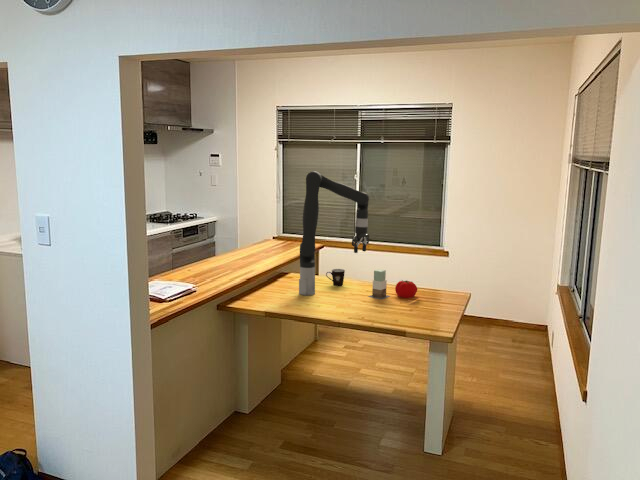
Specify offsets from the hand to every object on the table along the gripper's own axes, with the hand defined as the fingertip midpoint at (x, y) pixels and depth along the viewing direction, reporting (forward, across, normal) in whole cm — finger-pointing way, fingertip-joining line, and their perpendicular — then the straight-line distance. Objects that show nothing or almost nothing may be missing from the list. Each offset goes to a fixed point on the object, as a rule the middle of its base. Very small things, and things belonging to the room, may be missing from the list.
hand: (359, 252), depth 323 cm
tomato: (+26, +14, -26) cm, 39 cm away
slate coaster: (+26, +3, -14) cm, 30 cm away
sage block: (+15, +3, -14) cm, 21 cm away
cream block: (+20, +3, -14) cm, 25 cm away
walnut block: (+26, +3, -14) cm, 29 cm away
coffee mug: (+27, +11, +25) cm, 39 cm away
